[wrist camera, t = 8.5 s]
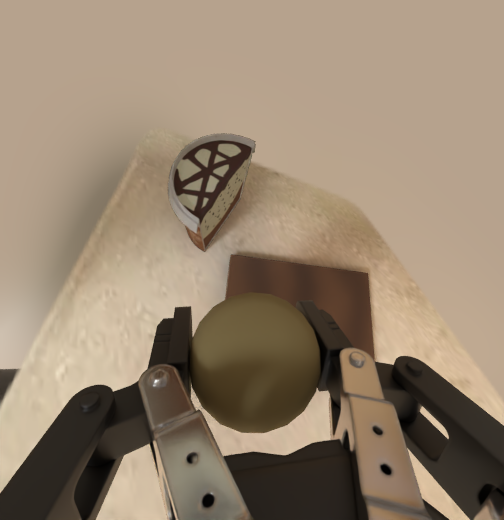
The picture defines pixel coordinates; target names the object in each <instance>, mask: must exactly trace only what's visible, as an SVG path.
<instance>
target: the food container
mask: <svg viewBox="0 0 504 520" xmlns="http://www.w3.org/2000/svg"><path fill="white" fill-rule="evenodd" d="M254 152H255V141H253V140H251V139H249V138H246V137H243V136H239V135H234V134H212V135H207V136H204V137H201V138H198V139H196V140H194V141H192V142H191V143H190V144H188V145H187V146H186V147H185V148H184V149H182V150H181V152H180V153H179V154H178V156H177V157H176V159H175V161H174V163H173V165H172V167H171V171H170V175H169V181H168V196H169V201H170V204H171V207H172V209H173V210H174V212H175V214H176V216H177V217H178V218H179V219H180V221H181V222H182V223H183V224H184V225H185V227H186V230H187V232H188V235H189V237H190V239H191V240H192V242H193V243H194V244H195V245H196V246H197V247H198V248H199V249H201V250H202V251H204V252H205V251H206V249H207V248H208V246H209V245H210V243H211V242H212V240H213V239H214V238H215V236H216V235H217V233H218V232H219V230H220V229H221V227H222V226H223V224H224V223H225V221H226V220H227V218H228V217H229V215H230V214H231V212H232V211H233V210H234V208H235V207H236V205H237V204H238V202H239V201H240V199H241V195H242V191H243V187H244V184H245V180H246V176H247V172H248V169H249V165H250V161H251V157H252V153H254Z"/></svg>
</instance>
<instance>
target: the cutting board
mask: <svg viewBox="0 0 504 520" xmlns="http://www.w3.org/2000/svg"><path fill="white" fill-rule="evenodd" d="M250 292H253V293H264V294H271V295H274V296H276V297H278V298H281V299H283V300H286V301H288V302H289V303H290V304H291V305H293V306H294V307H296V303H297V301H308V300H312V301H313V302H314V303H315V305H316V306H317V308H318V309H319V310H322V309H323V310H324V311H326V312H327V313H328V314H330V315H331V316H332V317H333V319H334V320H335V322H336V323H337V324H338V326H339V327H340V329H341V330H342V331H343V333H344V334H345V335H346V337H347V338H348V340H349V341H350V342H351V344H352V345H353V347H354V348H357V349H360V350H363V351H365V352H366V353H368V354H369V355H370V356H371V357H372V358H373V360H374V347H373V333H372V320H371V307H370V293H369V280H368V273H363V272H356V271H348V270H341V269H334V268H326V267H319V266H312V265H305V264H297V263H290V262H283V261H275V260H268V259H261V258H253V257H246V256H239V255H231V257H230V264H229V272H228V280H227V288H226V297H225V300H226V299H228V298H229V297H232V296H236V295H240V294H245V293H250ZM374 362H375V360H374Z"/></svg>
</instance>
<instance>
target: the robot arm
mask: <svg viewBox="0 0 504 520" xmlns="http://www.w3.org/2000/svg"><path fill="white" fill-rule="evenodd" d="M295 308H296V309H297V310H299V311H300V312H301V313H302V314H303V315H304V317H305V318H306V320H307V321H308V323H309V324H310V326H311V327H312V329H313V330H314V333H315V336H316V339H317V342H318V345H319V348H320V361H321V373H320V377H319V380H318V384H317V388H318V390H319V391H327V390H328V391H329V393H330V398H329V417H330V436H331V440H328V441H322V442H315V443H311V444H309V445H307V446H305V447H303V448H301V449H299V450H297V451H295V452H293V453H291V454H289V455H276V454H268V453H260V452H248V453H242V454H235V455H228V456H222V453H221V451H220V449H219V447H218V445H217V443H216V441H215V439H214V437H213V434H212V432H211V430H210V428H209V426H208V424H207V422H206V420H205V418H204V416H203V414H202V412H201V411H200V410H197V411H196V410H195V408H194V405H193V403H192V401H191V378H190V372H189V354H190V346H191V341H192V339H193V337H192V315H191V307H175V312H174V318H168V319H163V320H162V321H161V322H160V324H159V325H158V326H157V330H156V335H155V339H154V343H153V348H152V352H151V357H150V361H149V365H148V369H147V370H146V371H145V372H144V373H143V374H142V375H141V377H140V379H139V381H137V382H136V383H134V384H133V385H131V386H128V387H126V388H123V389H120V390H117V391H114V392H113V391H112V389H111V388H110V387H108V386H105V385H94V386H90V387H87V388H85V389H83V390H81V391H80V392H78V393H77V394H75V395H74V396H73V397H72V398H71V399H70V400H69V402H68V403H67V404H66V406H65V407H64V409H63V410H62V411H61V413H60V414H59V415H58V417H57V418H56V419H55V421H54V422H53V423H52V425H51V426H50V427H49V429H48V430H47V431H46V433H45V434H44V435H43V437H42V438H41V439H40V441H39V442H38V444H37V445H36V446H35V448H34V449H33V450H32V452H31V453H30V454H29V456H28V457H27V458H26V460H25V461H24V462H23V464H22V465H21V466H20V468H19V469H18V470H17V472H16V473H15V474H14V476H13V477H12V479H11V480H10V481H9V483H8V484H7V485H6V487H5V488H4V489H3V491H2V492H1V493H0V520H96V517H97V515H98V513H99V511H100V508H101V506H102V504H103V502H104V499H105V497H106V495H107V493H108V490H109V488H110V486H111V484H112V481H113V479H114V477H115V475H116V472H117V470H118V468H119V465H120V463H121V461H122V459H123V456H124V455H126V454H128V453H130V452H132V451H134V450H136V449H139V448H141V447H143V446H145V445H147V444H149V446H150V449H151V453H152V457H153V461H154V465H155V469H156V473H157V476H158V480H159V484H160V488H161V493H162V498H163V502H164V507H165V511H166V515H167V519H168V520H449V519H448V518H447V517H445V516H444V515H443V514H442V513H440V512H439V511H438V510H436V509H435V508H434V507H433V506H431V505H430V504H429V503H427V502H426V501H425V500H424V499H422V497H421V493H420V490H419V487H418V483H417V480H416V476H415V473H414V470H413V466H412V463H411V460H410V456H409V453H408V450H407V448H408V449H409V450H410V451H411V452H412V454H413V455H414V456H415V457H416V458H417V459H418V460H419V462H420V463H421V464H422V465H423V466H424V467H425V468H426V470H427V471H428V472H429V473H430V474H431V475H432V476H433V478H434V479H435V480H436V481H437V482H438V483H439V484H440V486H441V487H442V488H443V489H444V490H445V491H446V492H447V494H448V495H449V496H450V497H451V498H452V499H453V501H454V502H455V503H456V504H457V505H458V506H459V507H460V509H461V510H462V511H463V512H464V513H465V514H466V515H467V517H468V518H469V519H470V520H504V426H503V425H502V424H501V423H500V422H498V421H497V420H496V419H495V418H493V417H492V416H491V415H489V414H488V413H487V412H486V411H484V410H483V409H482V408H481V407H479V406H478V405H477V404H476V403H474V402H473V401H472V400H470V399H469V398H468V397H467V396H465V395H464V394H463V393H462V392H460V391H459V390H458V389H457V388H455V387H454V386H453V385H452V384H450V383H449V382H448V381H446V380H445V379H444V378H443V377H441V376H440V375H439V374H438V373H436V372H435V371H434V370H433V369H431V368H430V367H429V366H428V365H426V364H425V363H423V362H422V361H420V360H418V359H416V358H413V357H409V356H401V357H398V358H397V359H396V360H395V363H394V365H391V364H385V363H379V362H374V360H373V358H372V357H371V356H370V355H369V354H368V353H366V352H365V351H363V350H360V349H357V348H354V347H353V345H352V344H351V342H350V341H349V340H348V338H347V337H346V335H345V334H344V333H343V331H342V330H341V329H340V327H339V326H338V324H337V323H336V322H335V320H334V319H333V317H332V316H331V315H330V314H328V313H327V312H326V311H324V310H323V309H322V310H319V309H318V308H317V306H316V305H315V303H314V302H313V301H312V300H308V301H297V303H296V307H295ZM422 406H423V407H424V408H425V409H426V410H427V411H428V412H429V413H430V414H431V415H432V416H433V417H434V418H436V419H437V420H438V421H439V422H440V423H441V424H442V425H443V426H444V427H445V429H446V431H447V433H448V435H449V440H448V439H447V438H446V437H445V436H444V435H443V434H442V433H441V432H440V431H439V430H438V429H437V428H436V427H435V426H434V425H433V424H432V423H431V422H430V421H429V420H428V419H427V418H425V417H424V416H423V415H422V414H421V413H420V412H419V411H420V409H421V407H422Z"/></svg>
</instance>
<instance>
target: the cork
mask: <svg viewBox="0 0 504 520" xmlns="http://www.w3.org/2000/svg"><path fill="white" fill-rule="evenodd" d="M189 372H190V378H191V383H192V388H193V390H194V392H195V394H196V395H197V397H198V399H199V401H200V403H201V405H202V407H203V408H204V409H205V410H206V411H207V412H208V413H209V414H210V415H211V416H212V417H214V418H215V419H216V420H217V421H218V422H219V423H220V424H222V425H224V426H227V427H229V428H232V429H234V430H237V431H239V432H241V433H266V432H269V431H271V430H274V429H277V428H280V427H283V426H285V425H288V424H289V423H290V422H291V421H292V420H294V419H295V418H296V417H297V416H298V415H300V414H301V413H302V412H303V411H304V410H305V408H306V407H307V405H308V404H309V402H310V400H311V399H312V397H313V395H314V394H315V392H316V388H317V384H318V380H319V377H320V373H321V361H320V348H319V345H318V342H317V339H316V336H315V333H314V330H313V329H312V327H311V326H310V324H309V323H308V321H307V320H306V318H305V317H304V315H303V314H302V313H301V312H300V311H299V310H297V309H296V308H295V307H294V306H293V305H291V304H290V303H289V302H288V301H286V300H283V299H281V298H278V297H276V296H274V295H271V294H264V293H253V292H250V293H245V294H240V295H236V296H232V297H229V298H228V299H226V300H224V301H223V302H221V303H219V304H217V305H216V306H214V307H213V308H212V309H211V310H210V311H209V313H208V314H207V315H206V316H205V317H204V318H203V319H202V320H201V322H200V323H199V325H198V328H197V330H196V332H195V334H194V336H193V339H192V341H191V346H190V354H189Z"/></svg>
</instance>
